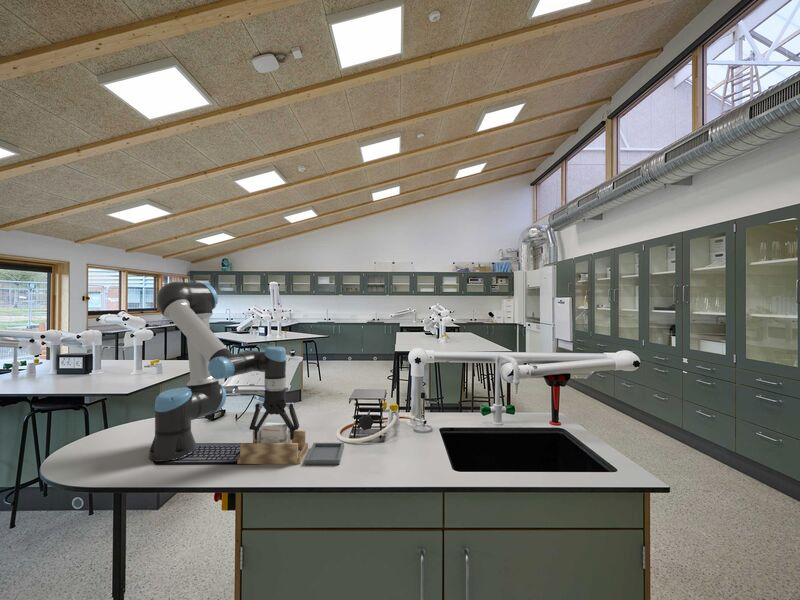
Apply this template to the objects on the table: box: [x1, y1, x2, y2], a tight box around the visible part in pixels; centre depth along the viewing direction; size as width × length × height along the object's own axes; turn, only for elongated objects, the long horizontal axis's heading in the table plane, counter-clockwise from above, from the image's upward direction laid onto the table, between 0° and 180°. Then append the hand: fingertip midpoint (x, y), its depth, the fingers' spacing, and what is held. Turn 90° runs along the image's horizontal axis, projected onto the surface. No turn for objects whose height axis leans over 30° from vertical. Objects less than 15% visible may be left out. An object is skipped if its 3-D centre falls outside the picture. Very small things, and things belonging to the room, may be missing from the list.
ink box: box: [260, 421, 288, 443], centre depth 144 cm, size 9×5×12 cm, turn 81°
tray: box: [304, 442, 345, 466], centre depth 144 cm, size 12×16×2 cm
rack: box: [236, 429, 309, 465], centre depth 144 cm, size 22×14×7 cm, turn 92°
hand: (274, 448), depth 144 cm, fingers open, 10 cm apart
